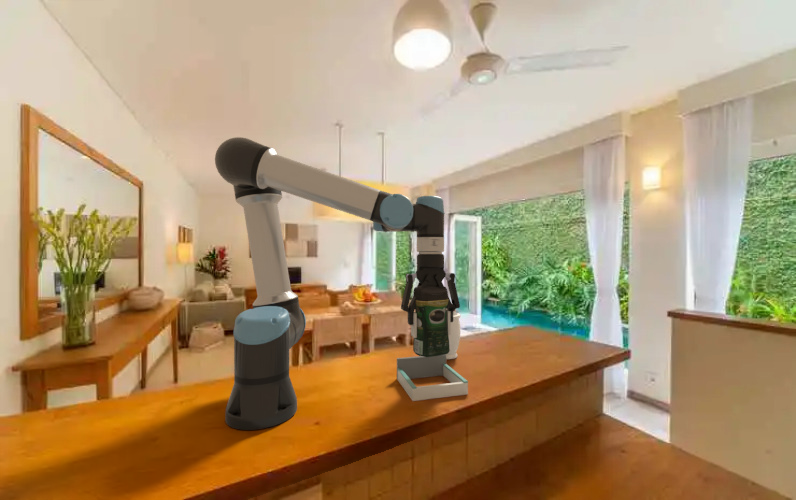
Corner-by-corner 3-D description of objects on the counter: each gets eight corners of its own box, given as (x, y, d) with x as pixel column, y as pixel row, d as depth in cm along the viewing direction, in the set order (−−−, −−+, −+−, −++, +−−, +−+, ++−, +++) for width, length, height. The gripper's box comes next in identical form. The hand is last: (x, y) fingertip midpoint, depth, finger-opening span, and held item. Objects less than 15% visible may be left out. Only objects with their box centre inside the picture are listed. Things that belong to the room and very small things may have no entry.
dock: (412, 401, 84) (412, 376, 84) (396, 378, 98) (396, 358, 98) (467, 394, 88) (467, 371, 88) (444, 373, 102) (444, 354, 102)
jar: (464, 354, 121) (464, 312, 121) (453, 362, 112) (453, 317, 112) (437, 350, 127) (437, 310, 127) (424, 357, 118) (424, 314, 118)
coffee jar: (438, 347, 99) (438, 283, 99) (453, 355, 91) (453, 286, 91) (408, 351, 95) (408, 285, 95) (422, 360, 87) (421, 287, 87)
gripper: (395, 253, 87) (396, 341, 87) (472, 253, 92) (473, 335, 92) (388, 253, 94) (388, 334, 94) (460, 252, 100) (461, 329, 100)
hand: (430, 335), depth 93 cm, fingers closed on coffee jar, 9 cm apart
